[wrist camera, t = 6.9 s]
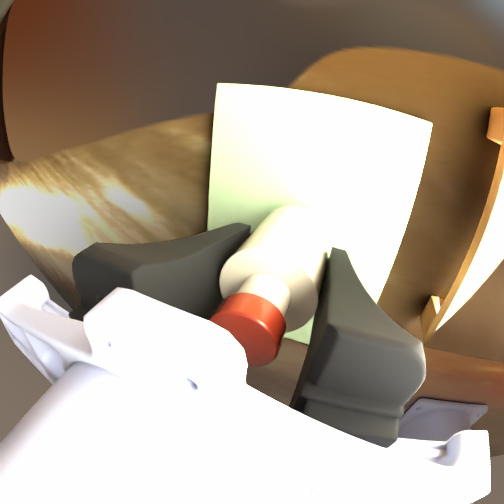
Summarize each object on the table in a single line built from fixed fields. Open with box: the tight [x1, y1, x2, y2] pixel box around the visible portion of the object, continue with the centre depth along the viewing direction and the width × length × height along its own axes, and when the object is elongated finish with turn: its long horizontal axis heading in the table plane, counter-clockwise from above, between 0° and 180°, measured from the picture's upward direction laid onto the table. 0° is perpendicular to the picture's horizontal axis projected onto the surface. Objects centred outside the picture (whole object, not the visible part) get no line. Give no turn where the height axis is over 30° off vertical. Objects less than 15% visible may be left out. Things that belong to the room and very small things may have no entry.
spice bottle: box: [209, 206, 332, 367], centre depth 11 cm, size 4×4×7 cm
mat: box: [207, 83, 432, 344], centre depth 14 cm, size 14×10×1 cm
